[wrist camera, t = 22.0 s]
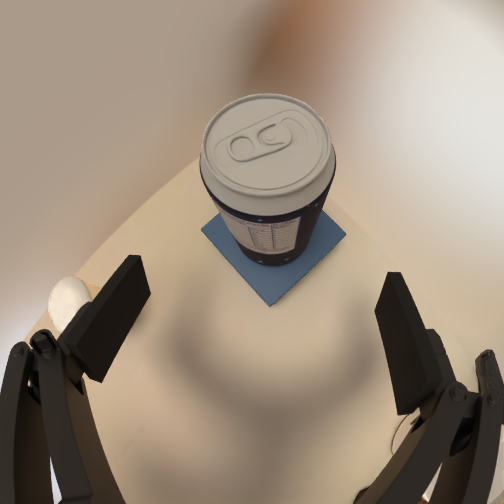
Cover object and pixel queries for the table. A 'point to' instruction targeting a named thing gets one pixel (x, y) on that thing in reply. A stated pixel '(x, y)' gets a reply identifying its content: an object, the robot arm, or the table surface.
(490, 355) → the handgun
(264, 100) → the beverage can
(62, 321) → the milkshake
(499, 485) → the mug
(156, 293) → the table surface
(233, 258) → the storage box
